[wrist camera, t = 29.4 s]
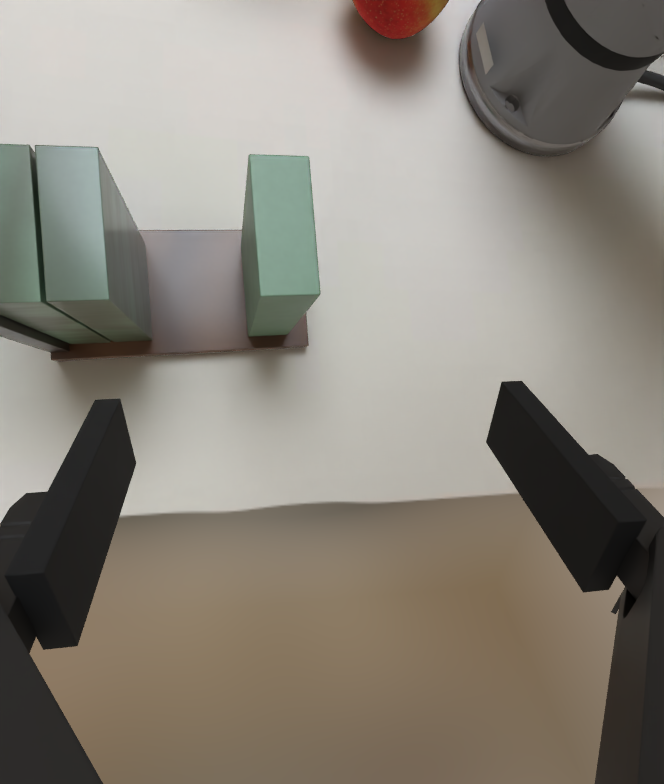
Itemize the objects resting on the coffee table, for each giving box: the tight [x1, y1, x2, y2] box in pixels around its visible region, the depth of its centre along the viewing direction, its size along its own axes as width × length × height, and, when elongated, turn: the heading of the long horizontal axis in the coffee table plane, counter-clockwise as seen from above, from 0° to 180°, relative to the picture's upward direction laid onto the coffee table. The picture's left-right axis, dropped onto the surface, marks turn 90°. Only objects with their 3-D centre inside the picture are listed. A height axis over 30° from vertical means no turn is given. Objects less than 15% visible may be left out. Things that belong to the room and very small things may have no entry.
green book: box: [241, 154, 320, 337], centre depth 30 cm, size 3×7×13 cm, turn 5°
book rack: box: [0, 144, 308, 361], centre depth 28 cm, size 18×9×16 cm, turn 95°
